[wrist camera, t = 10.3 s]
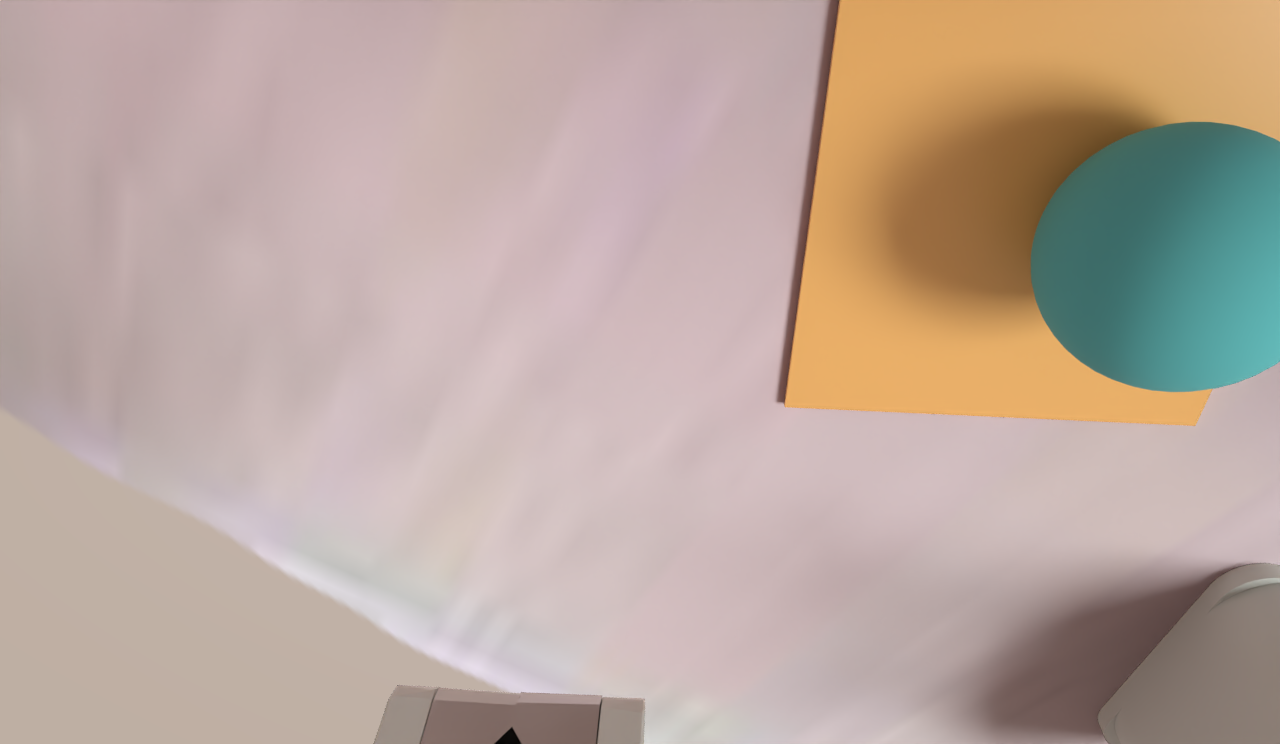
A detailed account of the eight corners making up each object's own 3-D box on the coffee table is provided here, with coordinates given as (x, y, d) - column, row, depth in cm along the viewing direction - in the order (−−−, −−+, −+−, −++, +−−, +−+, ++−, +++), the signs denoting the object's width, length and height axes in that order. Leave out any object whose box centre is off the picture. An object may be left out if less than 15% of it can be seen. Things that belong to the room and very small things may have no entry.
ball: (1335, 194, 15) (991, 154, 19) (1259, 479, 18) (977, 392, 22) (1415, 99, 18) (1108, 82, 22) (1339, 352, 21) (1081, 297, 25)
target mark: (1396, -16, 19) (1403, -14, 19) (1192, 421, 26) (1195, 425, 26) (843, -31, 20) (844, -30, 19) (783, 402, 26) (784, 407, 26)
